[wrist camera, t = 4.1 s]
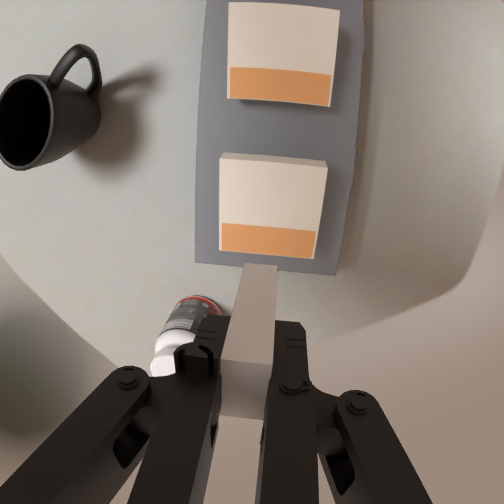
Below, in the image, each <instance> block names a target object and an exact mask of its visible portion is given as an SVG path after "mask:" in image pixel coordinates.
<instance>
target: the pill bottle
mask: <svg viewBox="0 0 504 504" xmlns="http://www.w3.org/2000/svg"><path fill="white" fill-rule="evenodd" d="M208 314H214V315H222V313H221V311H220V309H219V308H218V307H217V305H216V304H214V303H213V302H212V301H210V300H209V299H207V298H204V297H201V296H189V297H185V298H183V299H182V300H180V301H179V302H178V303H177V304H176V306H175V307H174V309H173V311H172V313H171V315H170V317H169V319H168V320H167V322H166V324H165V326H164V328H163V329H162V331H161V333H160V335H159V337H158V339H157V341H156V344H155V356H154V358H153V360H152V362H151V366H150V369H151V373H152V375H153V377H157V376H167V375H171V374H173V373H175V364H174V355H173V352H174V351H175V350H176V348H177V347H179V346H181V345H183V344H185V343H189V342H193V340H194V338H195V335H196V332H197V331H198V327H199V325H200V322H201V320H202V319H204V318H205V317H206V316H207V315H208Z"/></svg>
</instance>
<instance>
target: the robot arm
mask: <svg viewBox="0 0 504 504" xmlns="http://www.w3.org/2000/svg"><path fill="white" fill-rule="evenodd" d="M276 288H277V266H274V265H264V264H253V263H245V264H244V268H243V272H242V276H241V280H240V284H239V288H238V292H237V295H236V299H235V303H234V307H233V311H232V315H231V316H222V315H214V314H208V315H207V316H206V317H205V318H204V319H202V320H201V322H200V325H199V327H198V331H197V332H196V335H195V338H194V340H193V342H189V343H185V344H183V345H181V346H179V347H177V348H176V350H175V351H174V352H173V355H174V364H175V373H173V374H171V375H167V376H157V377H149V376H148V374H147V373H146V371H144V370H143V369H141V368H139V367H135V366H124V367H121V368H117V369H116V370H115V371H113V372H112V373H111V374H110V375H109V376H108V377H107V378H106V379H105V380H104V381H103V382H102V383H101V384H100V385H99V386H98V387H97V388H96V389H95V390H94V391H93V392H92V393H91V394H90V395H89V396H88V397H87V398H86V399H85V400H84V401H83V402H82V403H81V404H80V405H79V406H78V407H77V408H76V409H75V410H74V411H73V412H72V413H71V414H70V415H69V416H68V418H66V419H65V421H64V422H62V423H61V425H60V426H59V427H58V428H57V429H56V430H55V431H54V432H53V433H52V434H51V435H50V436H49V437H48V438H47V439H46V440H45V441H44V442H43V443H42V444H41V445H40V446H39V447H38V448H37V449H36V451H34V452H33V453H32V454H31V455H30V457H29V458H28V459H27V460H26V461H25V462H24V463H23V464H22V465H21V466H20V467H19V468H18V469H17V470H16V471H15V472H14V473H13V475H11V476H10V478H8V480H7V481H6V482H5V483H4V484H3V485H2V486H1V487H0V504H109V503H110V502H111V500H112V499H113V498H114V496H115V495H116V494H117V492H118V491H119V490H120V488H121V487H122V486H123V484H124V483H125V482H126V480H127V479H128V477H129V476H130V475H131V473H132V472H133V471H134V469H135V468H136V467H137V465H138V464H139V462H140V461H141V460H142V458H143V457H144V458H143V460H142V463H141V466H140V469H139V472H138V474H137V477H136V480H135V483H134V486H133V488H132V491H131V494H130V497H129V500H128V503H127V504H203V500H204V495H205V491H206V486H207V481H208V476H209V471H210V466H211V461H212V457H213V452H214V446H215V442H216V437H217V432H218V418H219V413H220V415H224V416H232V417H240V418H249V419H259V420H264V422H263V429H262V434H261V441H260V444H261V447H260V457H259V468H258V477H257V487H256V496H255V504H319V489H318V459H317V453H318V455H319V458H320V461H321V464H322V466H323V469H324V472H325V475H326V478H327V481H328V483H329V486H330V489H331V492H332V495H333V498H334V501H335V503H336V504H433V503H432V501H431V499H430V498H429V496H428V494H427V492H426V490H425V488H424V486H423V484H422V482H421V480H420V478H419V476H418V475H417V473H416V471H415V469H414V467H413V465H412V463H411V461H410V460H409V458H408V456H407V454H406V453H405V450H404V449H403V447H402V445H401V443H400V441H399V439H398V438H397V436H396V434H395V432H394V430H393V429H392V427H391V425H390V423H389V421H388V419H387V418H386V416H385V414H384V412H383V410H382V409H381V407H380V405H379V403H378V402H377V401H376V399H375V398H374V397H373V396H372V395H370V394H368V393H367V392H364V391H360V390H351V391H347V392H344V393H343V394H342V395H341V396H340V397H337V396H333V395H330V394H327V393H324V392H321V391H320V390H318V389H317V388H316V387H315V386H314V385H312V382H311V381H310V379H309V373H308V358H307V344H306V332H305V329H304V328H303V327H302V325H301V324H300V322H290V321H279V320H275V310H276Z"/></svg>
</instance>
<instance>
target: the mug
mask: <svg viewBox="0 0 504 504" xmlns="http://www.w3.org/2000/svg"><path fill="white" fill-rule="evenodd" d="M83 57H86V58H88V60H89V62H90V65H91V69H92V81H91V83H90V85H89V87H88V88H87V89H86V90H84V89H83V88H81V87H80V86H78V85H76V84H74V83H72V82H70V81H68V80H66V79H64V77H65V75H66V74H67V72H68V71H69V70H70V68H71V67H72V66H73V65H74V64H75V63H76V62H77V61H78V60H79V59H81V58H83ZM101 90H102V77H101V72H100V66H99V61H98V58H97V55H96V54H95V52H94V51H93V50H92V49H91V48H90V47H88V46H86V45H83V44H77V45H74V46H73V47H72V48H70V49H69V50H68V51H67V52H66V53H65V54H64V56H63V57H62V58H61V59H60V61H59V62H58V64H57V65H56V67H55V68H54V70H53V72H52V73H51V75H50V76H47V75H33V74H27V75H23V76H20V77H18V78H16V79H14V80H13V81H12V82H11V83H9V84H8V85H7V86H6V88H5V89H4V91H3V92H2V93H1V95H0V159H1V160H2V161H3V163H4V164H6V165H7V166H8V167H9V168H11V169H14V170H17V171H25V170H28V169H31V168H34V167H38V166H41V165H44V164H47V163H51V162H53V161H55V160H57V159H60V158H61V157H63V156H65V155H66V154H68V153H70V152H71V151H73V150H74V149H76V148H77V147H79V146H80V145H81V144H82V143H84V142H85V141H86V140H88V139H89V138H90V137H91V136H93V134H94V133H95V132H96V130H97V128H98V126H99V122H100V117H101V111H100V106H99V103H98V101H97V99H96V98H97V97H98V96H99V94H100V92H101Z"/></svg>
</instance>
